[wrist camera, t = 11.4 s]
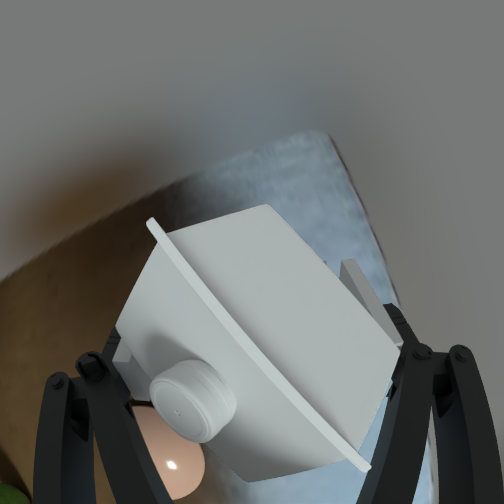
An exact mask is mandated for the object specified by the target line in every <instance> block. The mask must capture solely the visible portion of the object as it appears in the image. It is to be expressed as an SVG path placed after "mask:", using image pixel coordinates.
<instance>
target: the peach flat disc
mask: <svg viewBox="0 0 504 504" xmlns="http://www.w3.org/2000/svg"><path fill="white" fill-rule="evenodd" d="M132 409H133V412H134V414H135V417H136V420H137V423H138V425H139V428H140V431H141V433H142V436H143V438H144V441H145V443H146V446H147V448H148V450H149V453H150V455H151V457H152V460H153V462H154V464H155V466H156V468H157V471H158V473H159V475H160V477H161V479H162V481H163V483H164V485H165V487H166V489H167V491H168V493H169V495H170V497H171V499H172V500H174V499H178V498H181V497H184V496H186V495H188V494H190V493H191V492H192V491H194V490H195V489H196V488H197V486H198V485H199V484H200V482H201V480H202V477H203V475H204V472H205V462H206V461H205V454H204V451H203V448H202V446H201V443H195V442H191V441H189V440H186V439H184V438H183V437H181V436H180V435H178V434H177V433H176V432H174V431H173V430H172V429H171V428H170V427H169V426H168V425H167V424H166V423H165V422H164V420H163V419H162V418H161V416H160V415H159V414H158V412H157V411H156V409H155V407H151V406H143V405H139V406H132Z"/></svg>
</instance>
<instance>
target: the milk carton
mask: <svg viewBox="0 0 504 504" xmlns="http://www.w3.org/2000/svg"><path fill="white" fill-rule="evenodd" d="M146 225H147V227H148V229H149V230H150V231H151V233H152V234H153V235H154V237H155V238H156V240H157V241H158V242H157V244H156V246H155V248H154V250H153V251H152V253H151V255H150V257H149V259H148V261H147V263H146V265H145V266H144V268H143V270H142V272H141V274H140V276H139V278H138V280H137V282H136V284H135V286H134V288H133V290H132V292H131V294H130V296H129V298H128V300H127V302H126V304H125V306H124V308H123V310H122V312H121V314H120V316H119V319H118V321H117V323H116V326H115V327H116V329H117V331H118V333H119V335H120V336H121V338H122V339H123V341H124V343H125V344H126V346H127V347H128V349H129V350H130V352H131V353H132V355H133V356H134V358H135V359H136V361H137V362H138V363H139V365H140V366H141V367H142V369H143V370H144V372H145V373H146V374H147V376H148V377H149V378H150V379H151V381H152V382H151V384H150V387H149V393H150V398H151V401H152V403H153V405H154V407H155V409H156V411H157V412H158V414H159V415H160V416H161V418H162V419H163V420H164V422H165V423H166V424H167V425H168V426H169V427H170V428H171V429H172V430H173V431H174V432H176V433H177V434H178V435H180V436H181V437H183V438H184V439H186V440H189V441H191V442H195V443H205V444H206V445H207V446H208V447H209V448H210V449H211V450H212V451H213V452H214V453H215V454H216V455H217V456H218V457H219V458H220V459H221V460H222V461H223V462H224V463H225V464H226V465H227V466H228V467H229V468H230V469H232V470H233V471H234V472H235V473H236V474H237V475H238V476H240V477H241V478H242V479H243V480H245V481H246V482H255V481H261V480H266V479H272V478H277V477H282V476H286V475H291V474H295V473H299V472H303V471H307V470H311V469H315V468H318V467H322V466H325V465H328V464H332V463H335V462H338V461H341V460H344V459H347V458H348V459H349V460H350V461H351V462H352V463H353V464H354V465H355V466H356V467H357V468H358V469H360V470H361V471H362V472H367V471H368V470H369V469H371V467H372V466H371V465H370V464H369V463H368V462H367V461H366V460H365V459H364V458H363V457H362V456H361V455H360V454H359V453H358V452H357V451H358V449H359V447H360V446H361V444H362V442H363V440H364V438H365V436H366V434H367V432H368V430H369V428H370V426H371V423H372V421H373V419H374V417H375V415H376V413H377V410H378V408H379V406H380V404H381V401H382V399H383V397H384V394H385V392H386V389H387V387H388V384H389V382H390V379H391V377H392V374H393V371H394V369H395V366H396V363H397V360H398V358H399V355H400V350H399V349H398V347H397V346H396V345H395V344H394V342H393V341H392V340H391V339H390V337H389V336H388V335H387V334H386V333H385V331H384V330H383V329H382V328H381V327H380V325H379V324H378V323H377V322H376V321H375V320H374V318H373V317H372V316H371V315H370V314H369V313H368V312H367V310H366V309H365V308H364V307H363V306H362V305H361V303H360V302H359V301H358V300H357V299H356V298H355V297H354V296H353V294H352V293H351V292H350V291H349V290H348V289H347V288H346V286H345V285H344V284H343V283H342V282H341V281H340V280H339V279H338V278H337V276H336V275H335V274H334V273H333V272H332V271H331V270H330V269H329V268H328V267H327V265H326V264H325V263H324V262H323V261H322V260H321V259H320V258H319V257H318V256H317V255H316V253H315V252H314V251H313V250H312V249H311V248H310V247H309V246H308V245H307V244H306V243H305V242H304V241H303V239H302V238H301V237H300V236H299V235H298V234H297V233H296V232H295V231H294V230H293V229H292V228H291V227H290V226H289V225H288V224H287V223H286V222H285V221H284V219H283V218H282V217H281V216H280V215H279V214H278V213H277V212H276V211H275V210H274V209H273V208H272V207H271V206H269V205H268V204H264V205H260V206H256V207H253V208H249V209H246V210H242V211H239V212H235V213H232V214H228V215H225V216H222V217H218V218H215V219H212V220H208V221H205V222H202V223H198V224H195V225H192V226H188V227H185V228H182V229H179V230H176V231H172V232H169V233H165V232H164V230H163V229H162V228H161V227H160V226H159V224H158V223H157V222H156V221H155V219H154V218H153V217H152V218H150V219H149V220H148V221H147V222H146Z"/></svg>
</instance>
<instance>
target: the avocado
mask: <svg viewBox="0 0 504 504" xmlns="http://www.w3.org/2000/svg"><path fill="white" fill-rule="evenodd" d="M0 504H31V503H30V501H29V499H28V498H27V496H26V495H25V494H24V493H22V492H21V491H20V490H19V489H18V488H16V487H14V486H11V485H9V484H6V483H0Z"/></svg>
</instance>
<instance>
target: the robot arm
mask: <svg viewBox="0 0 504 504" xmlns="http://www.w3.org/2000/svg"><path fill="white" fill-rule="evenodd" d="M339 280H340V281H341V282H342V283H343V284H344V285H345V286H346V288H347V289H348V290H349V291H350V292H351V293H352V294H353V296H354V297H355V298H356V299H357V300H358V301H359V302H360V303H361V305H362V306H363V307H364V308H365V309H366V310H367V312H368V313H369V314H370V315H371V316H372V317H373V318H374V320H375V321H376V322H377V323H378V324H379V325H380V327H381V328H382V329H383V330H384V331H385V333H386V334H387V335H388V336H389V337H390V339H391V340H392V341H393V342H394V344H395V345H396V346H397V347H398V349H399V350H400V355H399V358H398V360H397V363H396V366H395V369H394V371H393V374H392V377H391V379H392V381H393V383H392V385H391V387H390V389H389V391H388V394H387V396H386V397H388V402H387V406H386V410H385V415H384V419H383V423H382V426H381V430H380V434H379V438H378V441H377V444H376V448H375V451H374V454H373V458H372V461H371V464H370V465H371V466H372V467H371V469H369V470H368V473H367V476H366V479H365V481H364V484H363V487H362V489H361V492H360V495H359V497H358V500H357V502H356V504H412V502H413V498H414V495H415V491H416V487H417V483H418V479H419V475H420V471H421V466H422V461H423V456H424V451H425V446H426V440H427V433H428V427H429V419H430V411H431V406H432V412H433V420H434V427H435V436H436V446H437V458H438V476H439V504H504V491H503V480H502V472H501V463H500V456H499V450H498V445H497V439H496V435H495V429H494V425H493V420H492V416H491V412H490V408H489V404H488V401H487V397H486V393H485V390H484V386H483V383H482V380H481V377H480V374H479V370H478V368H477V365H476V362H475V359H474V356H473V354H472V352H471V350H470V349H469V348H467V347H465V346H463V345H455V346H453V347H451V349H450V351H449V353H442V352H433V351H432V349H431V348H430V347H428V346H427V345H425V344H422V343H419V341H418V339H417V338H416V336H415V334H414V333H413V331H412V329H411V327H410V326H409V324H408V323H407V321H406V319H405V318H404V317H403V315H402V313H401V311H400V310H399V309H398V308H397V307H396V306H394V305H393V304H392V303H390V304H383V305H382V303H381V301H380V300H379V298H378V296H377V295H376V293H375V291H374V290H373V288H372V287H371V285H370V283H369V282H368V280H367V278H366V277H365V275H364V274H363V272H362V271H361V269H360V267H359V266H358V264H357V263H356V261H355V260H354V259H347V260H341V269H340V278H339ZM75 367H76V369H77V370H78V372H79V374H80V375H81V377H76V378H69V377H68V375H67V374H66V373H64V372H56V373H54V374H52V375H51V376H50V377H49V378H48V379H47V382H46V385H45V389H44V394H43V400H42V405H41V411H40V417H39V424H38V431H37V439H36V448H35V460H34V476H33V504H96V494H95V480H94V453H93V431H94V433H95V437H96V441H97V445H98V449H99V452H100V456H101V459H102V462H103V466H104V469H105V472H106V475H107V478H108V481H109V484H110V487H111V489H112V492H113V495H114V497H115V500H116V503H117V504H174V503H173V501H172V499H171V497H170V495H169V493H168V491H167V489H166V487H165V485H164V483H163V481H162V479H161V477H160V475H159V473H158V471H157V468H156V466H155V464H154V462H153V460H152V457H151V455H150V453H149V450H148V448H147V446H146V443H145V441H144V438H143V436H142V433H141V431H140V428H139V425H138V423H137V420H136V417H135V414H134V412H133V409H132V406H131V404H130V402H129V401H128V400H129V396H130V393H131V395H132V396H133V398H134V400H142V401H150V393H149V387H150V384H151V382H152V381H151V379H150V378H149V377H148V376H147V374H146V373H145V372H144V370H143V369H142V367H141V366H140V365H139V363H138V362H137V361H136V359H135V358H134V356H133V355H132V353H131V352H130V350H129V349H128V347H127V346H126V344H125V343H124V341H123V339H122V338H121V336H120V335H119V333H118V331H117V329H116V327H114V328H113V329H112V331H111V334H110V336H109V338H108V340H107V344H106V345H105V347H104V349H103V352H102V354H99V353H98V352H94V351H91V352H87V353H85V354H83V355H81V356H80V357H79V358H78V360H77V361H76V365H75Z"/></svg>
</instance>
